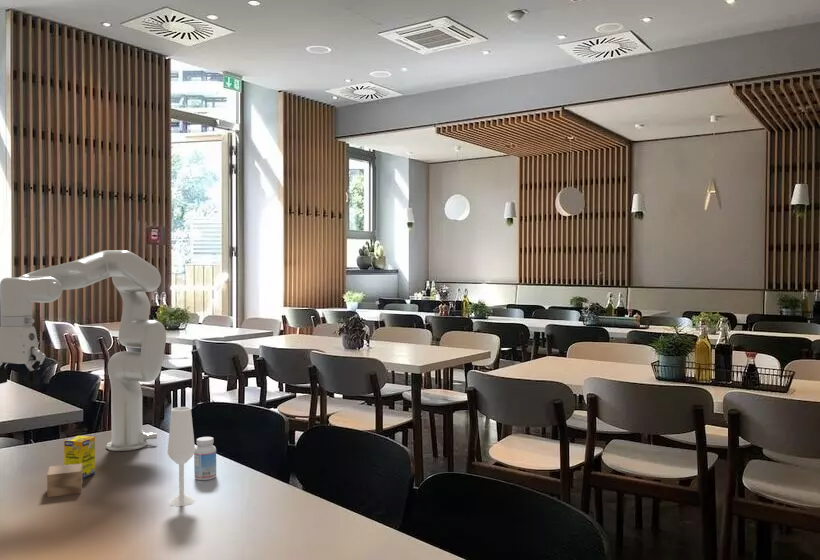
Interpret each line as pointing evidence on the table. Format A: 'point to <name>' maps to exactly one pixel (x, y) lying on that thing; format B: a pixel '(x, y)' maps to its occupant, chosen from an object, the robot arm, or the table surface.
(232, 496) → the table surface
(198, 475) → the pill bottle
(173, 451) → the champagne flute
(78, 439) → the supplement box
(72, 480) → the tan wooden block
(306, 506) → the table surface
